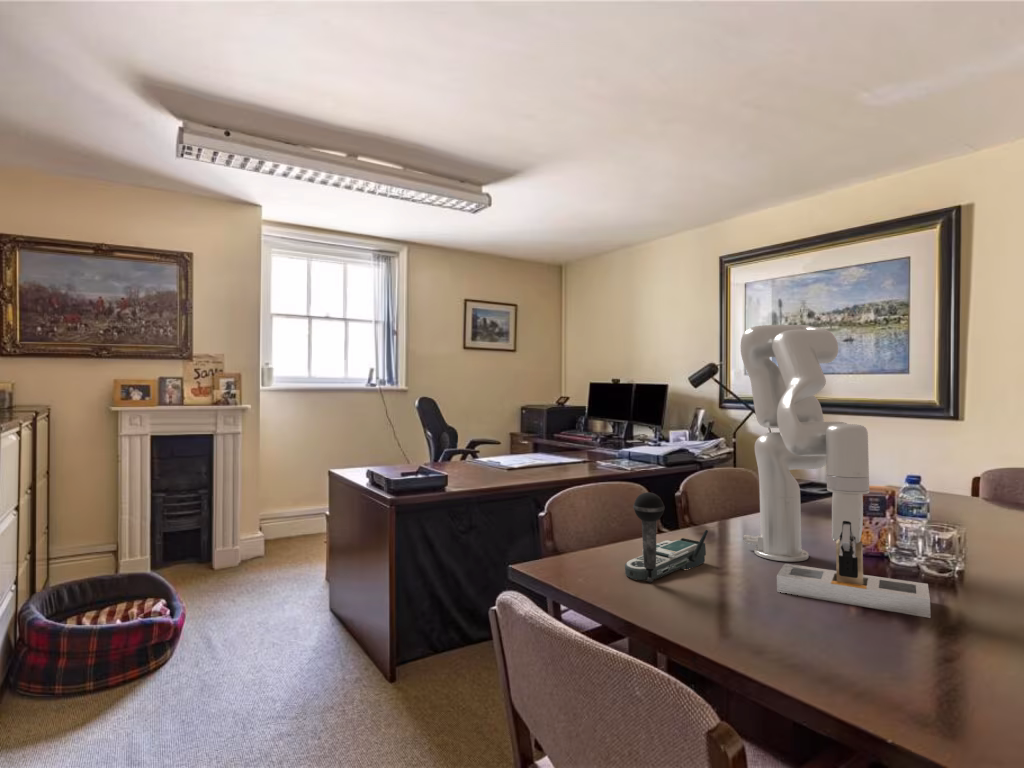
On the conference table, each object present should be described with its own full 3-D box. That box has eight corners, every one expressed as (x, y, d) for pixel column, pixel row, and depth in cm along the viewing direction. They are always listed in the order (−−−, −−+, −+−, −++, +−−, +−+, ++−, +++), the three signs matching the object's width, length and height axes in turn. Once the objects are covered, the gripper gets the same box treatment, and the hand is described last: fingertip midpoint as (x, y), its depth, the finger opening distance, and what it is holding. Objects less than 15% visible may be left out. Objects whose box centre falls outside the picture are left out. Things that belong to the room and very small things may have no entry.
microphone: (668, 580, 128) (667, 491, 128) (662, 589, 122) (661, 496, 122) (638, 576, 131) (636, 489, 131) (631, 585, 125) (629, 494, 125)
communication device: (609, 575, 134) (608, 537, 134) (671, 555, 149) (670, 521, 149) (650, 587, 124) (649, 547, 125) (712, 565, 139) (711, 529, 139)
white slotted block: (777, 592, 119) (776, 574, 119) (785, 579, 128) (784, 562, 128) (930, 618, 105) (929, 597, 105) (928, 601, 113) (927, 582, 113)
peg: (837, 597, 116) (835, 543, 116) (838, 591, 119) (837, 538, 119) (862, 601, 113) (861, 546, 113) (863, 595, 117) (862, 541, 117)
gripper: (831, 477, 126) (833, 558, 126) (822, 488, 112) (824, 580, 111) (871, 480, 122) (873, 563, 121) (867, 492, 107) (869, 586, 107)
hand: (849, 570), depth 116 cm, fingers open, 7 cm apart
